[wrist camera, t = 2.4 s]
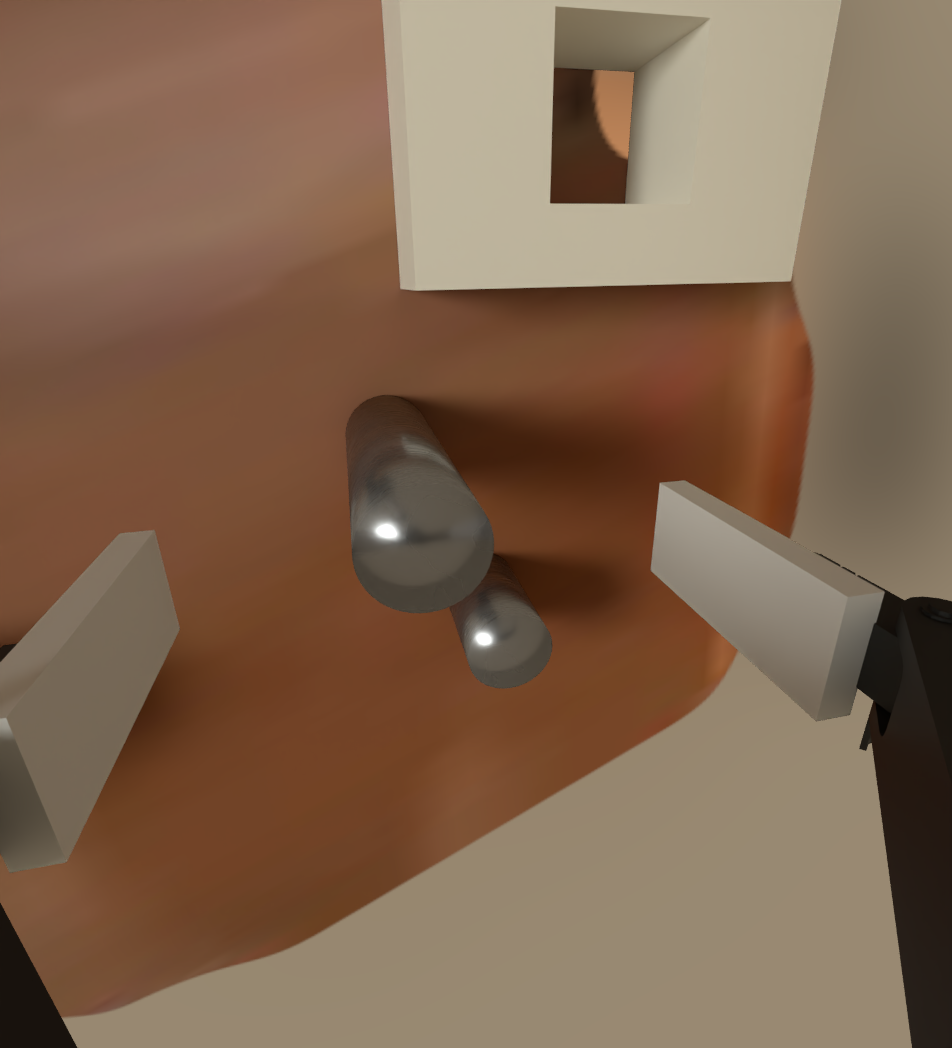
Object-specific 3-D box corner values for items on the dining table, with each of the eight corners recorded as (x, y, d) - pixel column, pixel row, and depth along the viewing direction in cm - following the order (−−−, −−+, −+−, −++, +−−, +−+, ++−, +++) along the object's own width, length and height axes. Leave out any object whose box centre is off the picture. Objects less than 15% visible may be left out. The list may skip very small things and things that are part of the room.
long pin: (341, 397, 24) (344, 490, 13) (425, 392, 25) (493, 477, 14) (350, 478, 26) (359, 621, 15) (430, 471, 26) (494, 603, 16)
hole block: (379, -35, 19) (392, -131, 15) (749, -3, 22) (855, -77, 17) (400, 288, 23) (415, 290, 19) (711, 281, 26) (790, 281, 21)
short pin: (442, 556, 28) (467, 621, 23) (513, 548, 29) (553, 609, 23) (445, 619, 30) (469, 694, 24) (512, 609, 30) (550, 681, 25)
